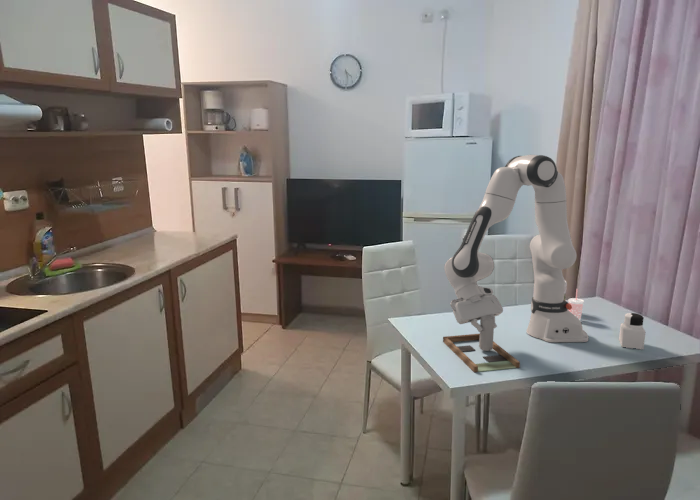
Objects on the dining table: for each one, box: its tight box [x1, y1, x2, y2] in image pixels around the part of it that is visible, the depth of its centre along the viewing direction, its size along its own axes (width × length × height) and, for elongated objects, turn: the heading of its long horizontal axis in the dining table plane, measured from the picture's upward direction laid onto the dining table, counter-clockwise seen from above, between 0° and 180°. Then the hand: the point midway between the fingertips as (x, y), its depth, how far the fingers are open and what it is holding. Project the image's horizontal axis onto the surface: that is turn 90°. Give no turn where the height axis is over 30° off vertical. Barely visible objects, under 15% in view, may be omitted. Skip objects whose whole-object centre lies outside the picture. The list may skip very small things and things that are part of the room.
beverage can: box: [478, 315, 495, 352], centre depth 184 cm, size 5×5×12 cm
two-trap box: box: [442, 333, 521, 373], centre depth 183 cm, size 27×16×2 cm, turn 12°
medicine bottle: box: [618, 312, 646, 350], centre depth 189 cm, size 7×7×12 cm
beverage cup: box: [567, 288, 585, 321], centre depth 215 cm, size 6×6×14 cm
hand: (488, 329), depth 183 cm, fingers closed on beverage can, 5 cm apart
